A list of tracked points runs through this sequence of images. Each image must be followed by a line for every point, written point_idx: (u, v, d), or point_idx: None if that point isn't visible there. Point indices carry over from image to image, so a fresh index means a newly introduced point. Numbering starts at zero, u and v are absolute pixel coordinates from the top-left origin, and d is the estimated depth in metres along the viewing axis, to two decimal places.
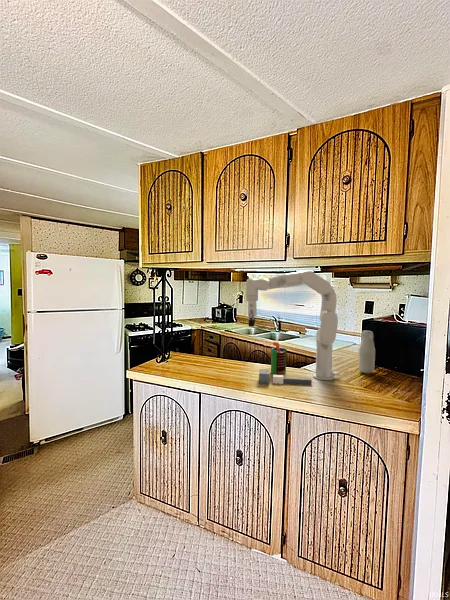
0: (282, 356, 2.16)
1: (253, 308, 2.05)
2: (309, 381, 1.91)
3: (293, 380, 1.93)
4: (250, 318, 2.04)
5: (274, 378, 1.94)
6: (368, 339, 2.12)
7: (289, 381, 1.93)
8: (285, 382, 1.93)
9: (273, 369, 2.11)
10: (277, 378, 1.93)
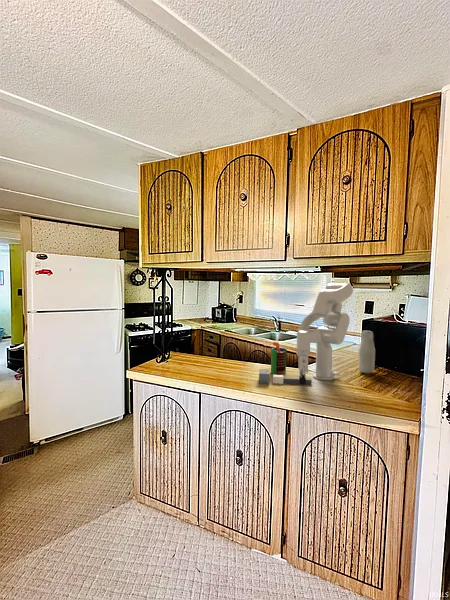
0: (282, 356, 2.16)
1: (305, 364, 1.87)
2: (309, 381, 1.91)
3: (293, 380, 1.93)
4: (302, 376, 1.89)
5: (274, 378, 1.94)
6: (368, 339, 2.12)
7: (289, 381, 1.93)
8: (285, 382, 1.93)
9: (273, 369, 2.11)
10: (277, 378, 1.93)
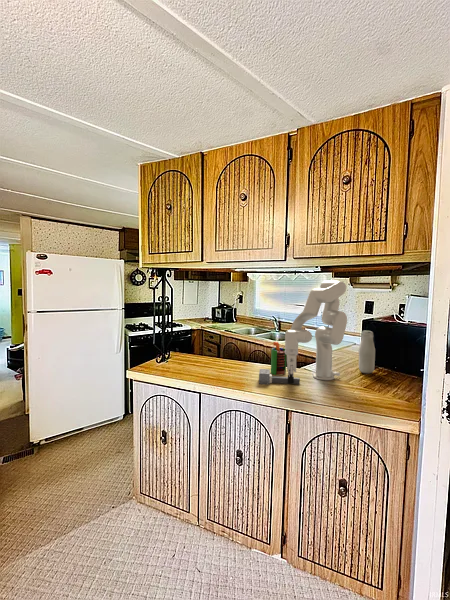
0: (282, 356, 2.16)
1: (293, 363, 1.88)
2: (297, 380, 1.92)
3: (281, 379, 1.93)
4: (290, 375, 1.90)
5: None
6: (368, 339, 2.12)
7: (278, 380, 1.94)
8: (273, 381, 1.94)
9: (273, 369, 2.11)
10: None
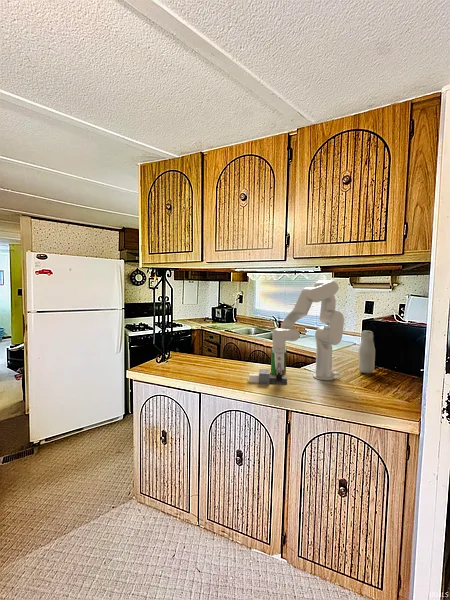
0: None
1: (281, 361, 1.90)
2: (284, 380, 1.93)
3: None
4: (278, 373, 1.88)
5: (250, 377, 1.96)
6: (368, 339, 2.12)
7: None
8: None
9: (273, 369, 2.11)
10: (253, 377, 1.95)
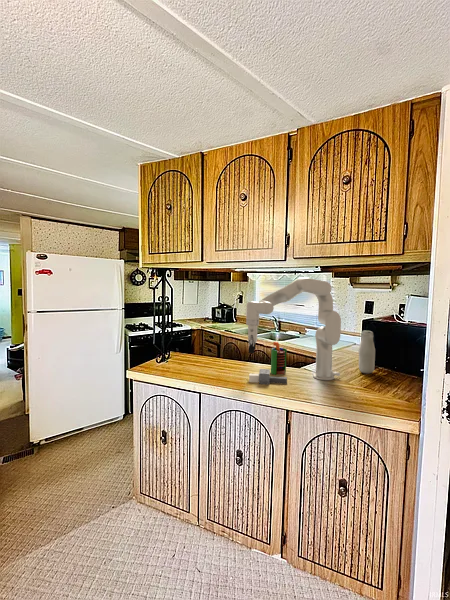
0: (282, 356, 2.16)
1: (254, 333, 1.91)
2: (284, 380, 1.93)
3: None
4: (250, 344, 1.89)
5: (250, 377, 1.96)
6: (368, 339, 2.12)
7: None
8: None
9: (273, 369, 2.11)
10: (253, 377, 1.95)
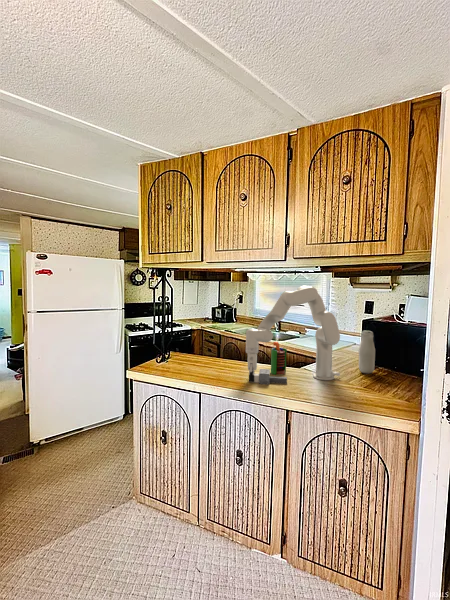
0: (282, 356, 2.16)
1: (253, 362, 1.92)
2: (284, 380, 1.93)
3: None
4: (250, 373, 1.93)
5: None
6: (368, 339, 2.12)
7: None
8: None
9: (273, 369, 2.11)
10: None
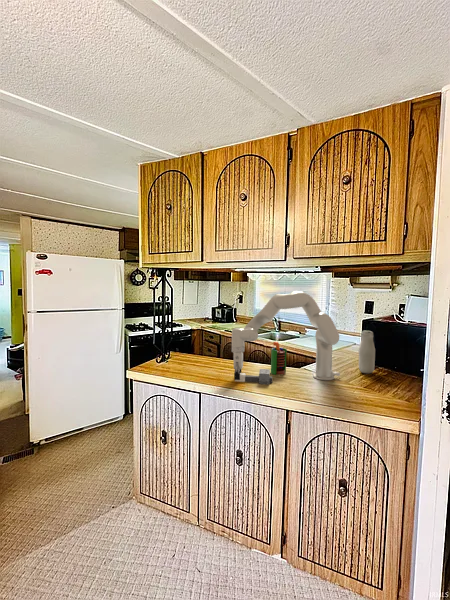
0: (282, 356, 2.16)
1: (239, 360, 1.93)
2: (270, 379, 1.95)
3: (254, 378, 1.96)
4: (236, 371, 1.92)
5: None
6: (368, 339, 2.12)
7: (251, 379, 1.96)
8: (247, 380, 1.97)
9: (273, 369, 2.11)
10: None
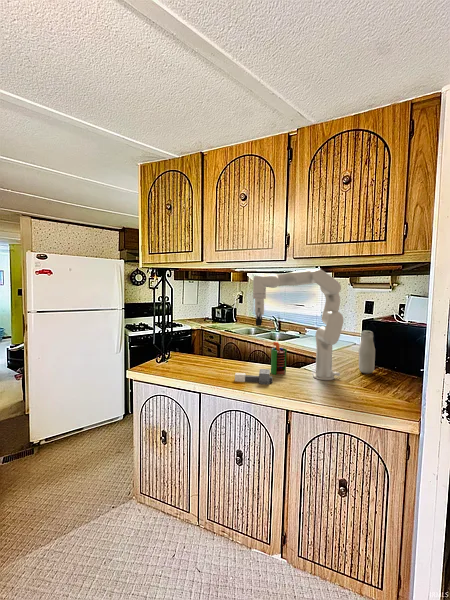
0: (282, 356, 2.16)
1: (261, 306, 1.94)
2: (270, 379, 1.95)
3: (254, 378, 1.96)
4: (257, 317, 1.93)
5: (236, 376, 1.97)
6: (368, 339, 2.12)
7: (251, 379, 1.96)
8: (247, 380, 1.97)
9: (273, 369, 2.11)
10: (239, 376, 1.97)
